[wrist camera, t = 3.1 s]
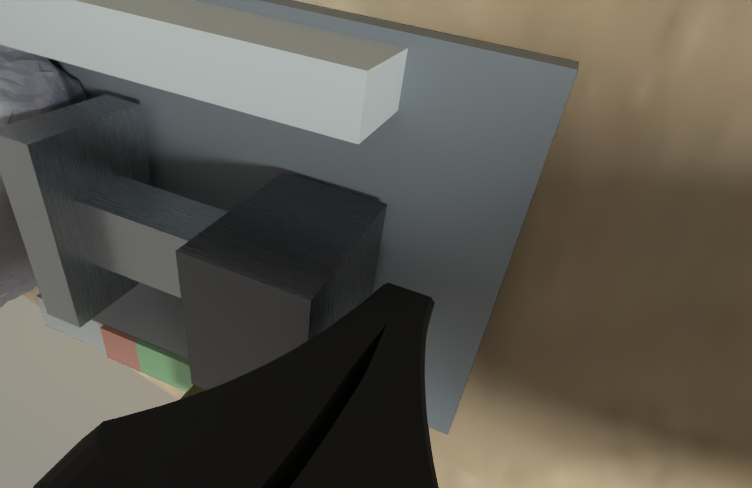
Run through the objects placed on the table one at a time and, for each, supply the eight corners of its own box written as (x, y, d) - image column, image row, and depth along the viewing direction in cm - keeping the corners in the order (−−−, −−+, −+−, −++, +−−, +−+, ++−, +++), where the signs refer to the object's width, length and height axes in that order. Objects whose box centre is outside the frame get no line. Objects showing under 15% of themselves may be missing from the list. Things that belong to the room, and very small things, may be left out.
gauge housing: (578, 61, 10) (573, 102, 8) (453, 416, 17) (427, 504, 14) (30, -56, 14) (-107, -56, 11) (107, 279, 20) (33, 329, 18)
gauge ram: (391, 175, 12) (313, 266, 9) (360, 364, 16) (297, 478, 12) (108, 93, 14) (-47, 141, 10) (141, 279, 18) (36, 358, 14)
